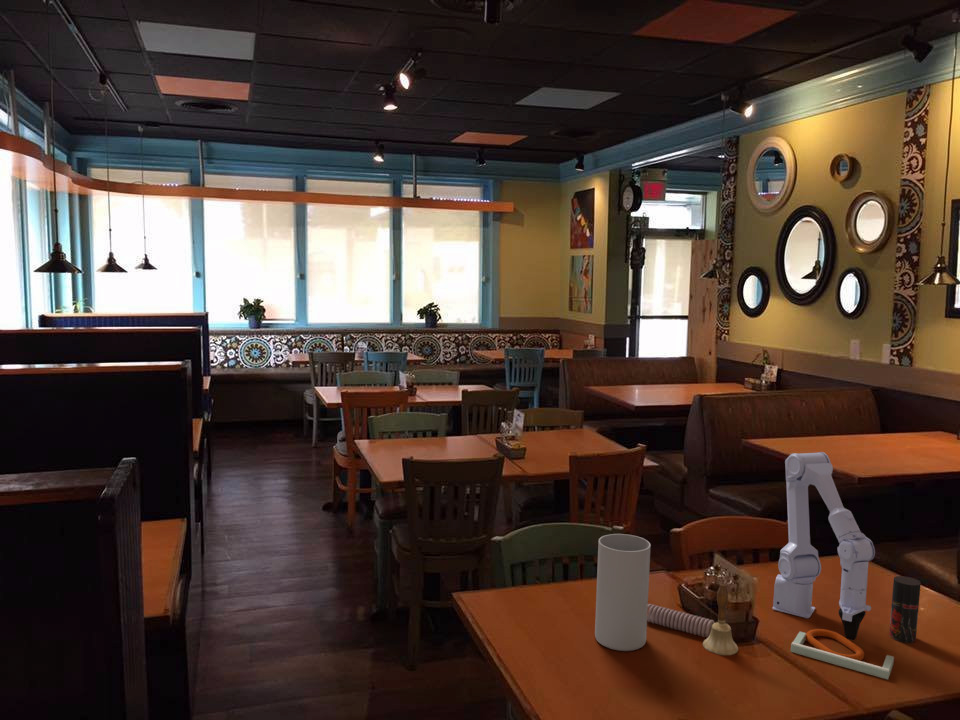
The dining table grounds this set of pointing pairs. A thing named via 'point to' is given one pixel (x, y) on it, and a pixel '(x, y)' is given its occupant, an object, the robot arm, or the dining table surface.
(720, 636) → the hand bell
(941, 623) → the dining table surface
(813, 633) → the orange oval ring
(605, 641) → the cylinder vase
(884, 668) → the bar pull handle
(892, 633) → the deodorant
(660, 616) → the coil
